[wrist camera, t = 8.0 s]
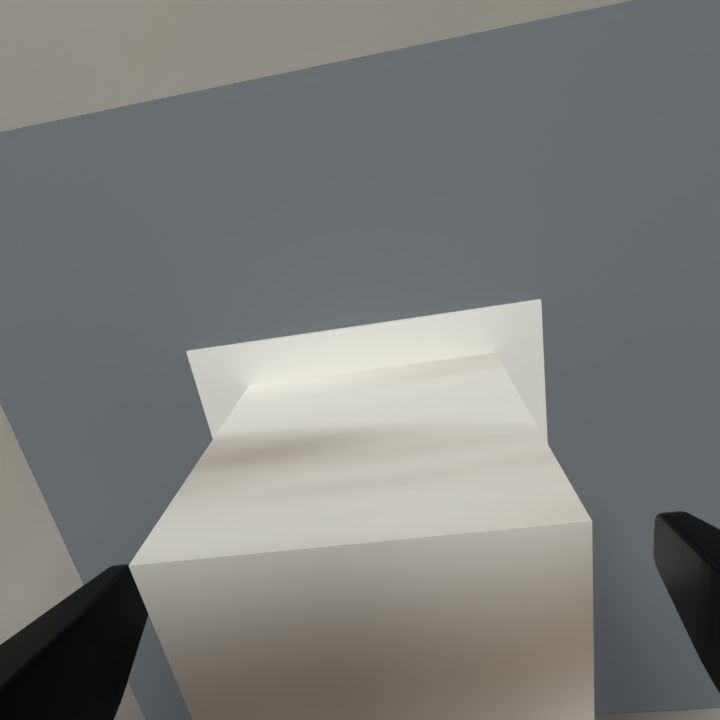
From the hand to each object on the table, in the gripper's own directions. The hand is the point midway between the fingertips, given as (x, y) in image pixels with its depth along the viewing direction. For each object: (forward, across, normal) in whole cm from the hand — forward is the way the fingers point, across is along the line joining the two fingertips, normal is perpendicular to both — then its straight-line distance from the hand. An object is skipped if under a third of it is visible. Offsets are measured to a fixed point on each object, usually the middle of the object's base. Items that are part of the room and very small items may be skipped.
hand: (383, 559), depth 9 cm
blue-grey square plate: (+4, 0, 0) cm, 4 cm away
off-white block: (+2, 0, 0) cm, 2 cm away
